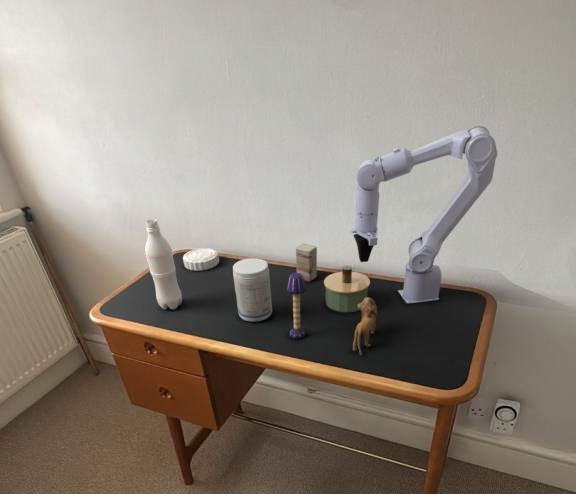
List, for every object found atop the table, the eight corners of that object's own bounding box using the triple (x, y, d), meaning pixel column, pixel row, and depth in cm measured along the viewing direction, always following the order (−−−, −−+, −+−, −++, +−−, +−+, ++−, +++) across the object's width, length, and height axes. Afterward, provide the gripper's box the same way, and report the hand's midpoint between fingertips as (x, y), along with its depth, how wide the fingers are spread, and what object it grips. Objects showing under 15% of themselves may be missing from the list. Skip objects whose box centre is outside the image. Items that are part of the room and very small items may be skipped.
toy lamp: (292, 328, 123) (289, 269, 112) (309, 330, 122) (307, 271, 111) (287, 338, 119) (283, 278, 109) (304, 340, 118) (302, 280, 108)
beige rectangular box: (296, 278, 146) (294, 248, 140) (303, 273, 149) (302, 243, 142) (310, 282, 143) (309, 251, 137) (317, 276, 146) (317, 246, 140)
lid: (362, 272, 134) (363, 255, 130) (375, 292, 124) (376, 275, 121) (319, 277, 133) (319, 260, 129) (329, 298, 123) (329, 280, 120)
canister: (360, 291, 137) (361, 271, 133) (372, 310, 128) (373, 289, 124) (322, 296, 136) (322, 276, 132) (330, 316, 127) (330, 295, 123)
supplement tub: (240, 306, 134) (234, 258, 125) (273, 305, 133) (269, 256, 124) (237, 324, 126) (230, 274, 117) (272, 322, 126) (267, 272, 117)
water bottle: (188, 304, 136) (170, 219, 121) (168, 314, 132) (147, 227, 117) (174, 297, 140) (154, 214, 125) (154, 306, 136) (131, 222, 121)
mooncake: (179, 270, 155) (177, 260, 153) (191, 256, 164) (189, 246, 162) (213, 271, 153) (212, 261, 151) (223, 256, 163) (222, 246, 160)
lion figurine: (356, 324, 123) (358, 294, 117) (377, 326, 122) (379, 295, 116) (350, 356, 112) (351, 324, 106) (373, 358, 110) (375, 325, 105)
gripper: (345, 204, 126) (343, 252, 134) (359, 222, 115) (356, 273, 123) (370, 201, 126) (367, 249, 135) (387, 219, 115) (382, 270, 124)
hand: (363, 260), depth 129 cm, fingers closed
